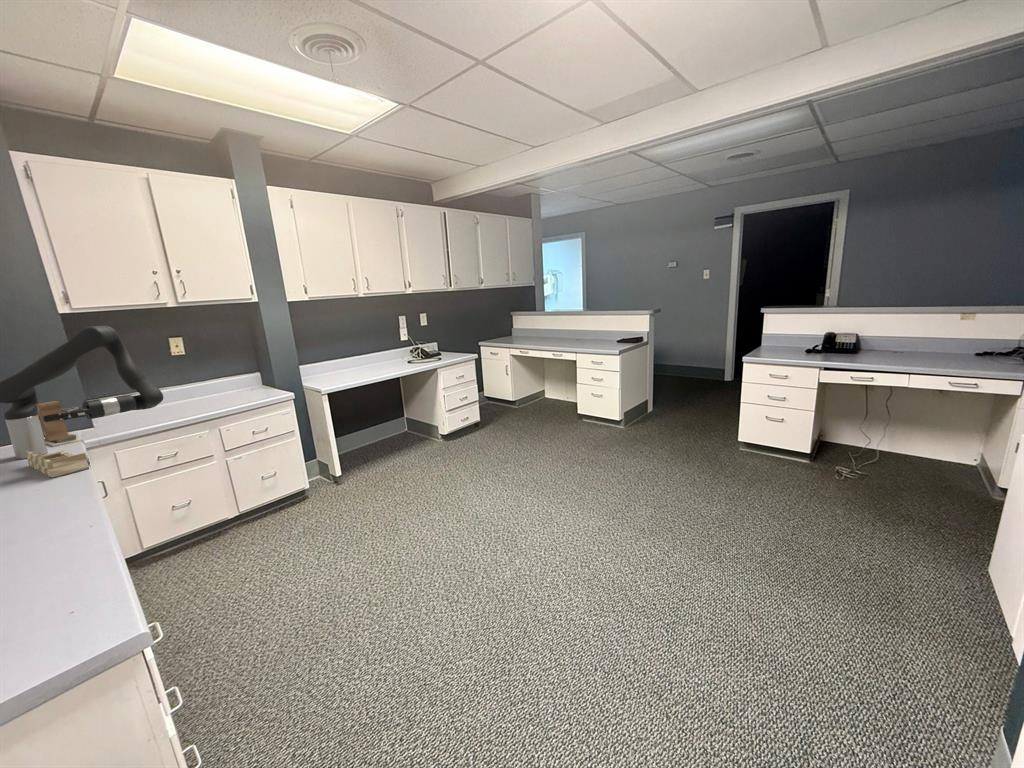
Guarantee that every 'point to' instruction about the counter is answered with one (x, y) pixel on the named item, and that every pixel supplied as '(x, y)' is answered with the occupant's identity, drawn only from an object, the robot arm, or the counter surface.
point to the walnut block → (52, 428)
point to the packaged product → (63, 440)
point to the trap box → (57, 463)
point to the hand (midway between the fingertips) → (41, 418)
